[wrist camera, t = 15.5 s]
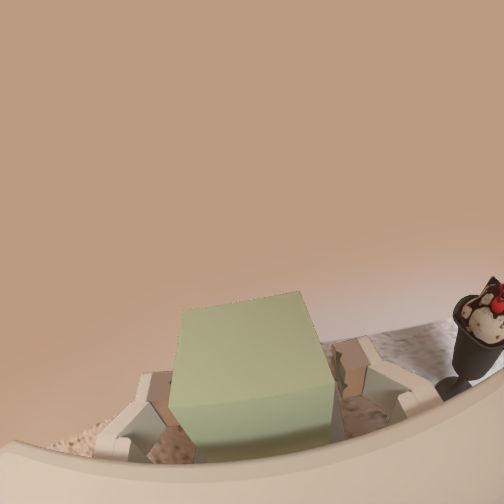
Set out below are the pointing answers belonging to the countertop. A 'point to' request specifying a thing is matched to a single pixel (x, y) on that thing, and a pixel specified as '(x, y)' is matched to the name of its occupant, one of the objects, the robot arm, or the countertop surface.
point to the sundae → (476, 338)
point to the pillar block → (252, 380)
